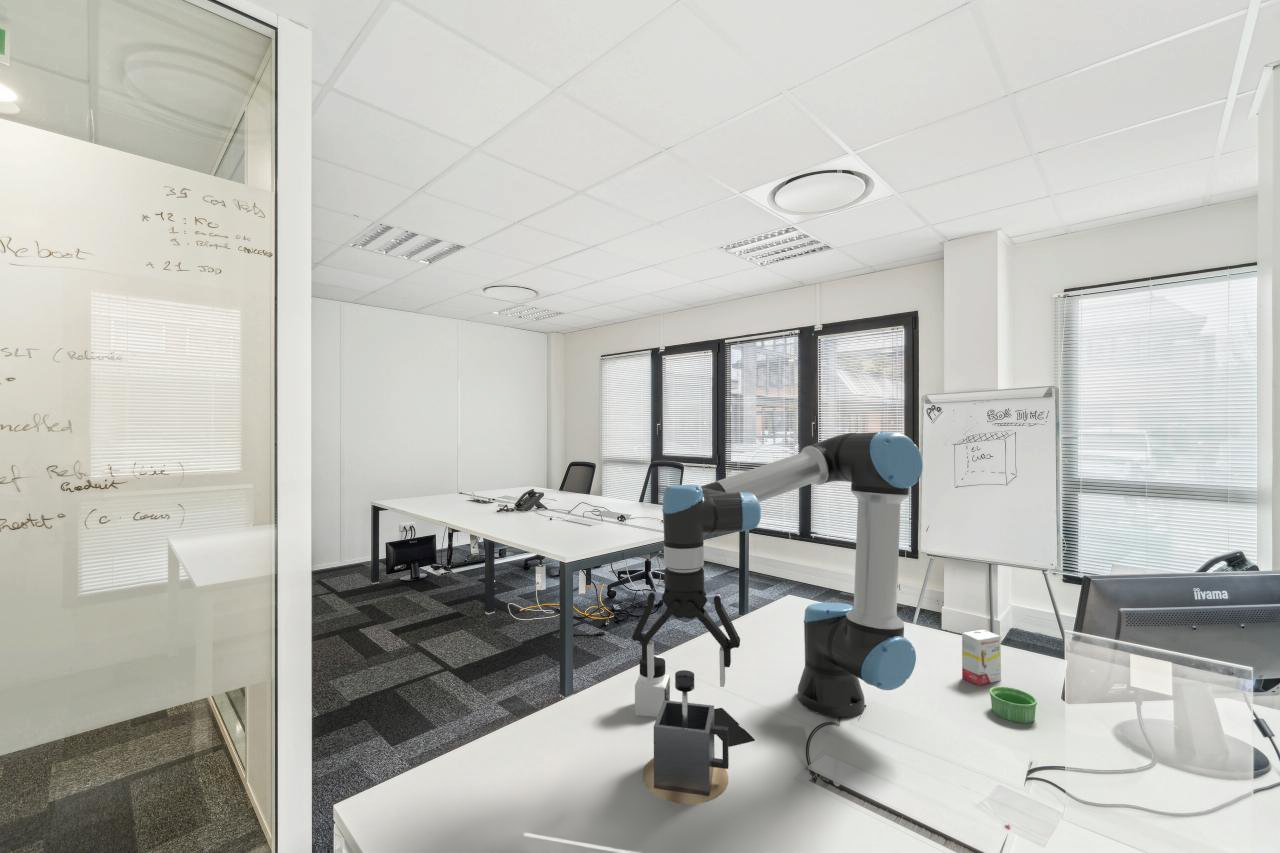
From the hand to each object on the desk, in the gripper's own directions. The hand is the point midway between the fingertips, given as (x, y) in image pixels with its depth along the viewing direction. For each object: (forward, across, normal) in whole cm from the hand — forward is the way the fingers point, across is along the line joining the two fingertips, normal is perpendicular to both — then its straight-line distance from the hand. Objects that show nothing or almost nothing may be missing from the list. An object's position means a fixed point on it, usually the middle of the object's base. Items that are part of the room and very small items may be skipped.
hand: (686, 680), depth 101 cm
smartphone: (+19, -6, -19) cm, 27 cm away
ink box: (+20, -70, -57) cm, 92 cm away
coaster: (+18, 0, 0) cm, 18 cm away
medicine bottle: (+18, +12, -23) cm, 31 cm away
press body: (+17, -1, 0) cm, 17 cm away
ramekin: (+19, -70, -39) cm, 82 cm away
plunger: (+16, 0, 0) cm, 16 cm away
